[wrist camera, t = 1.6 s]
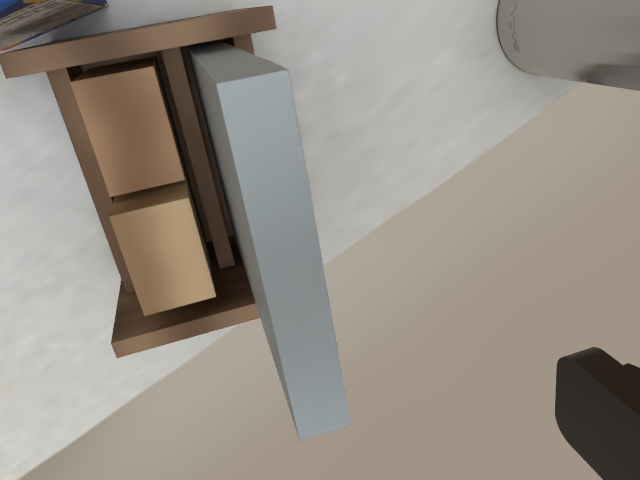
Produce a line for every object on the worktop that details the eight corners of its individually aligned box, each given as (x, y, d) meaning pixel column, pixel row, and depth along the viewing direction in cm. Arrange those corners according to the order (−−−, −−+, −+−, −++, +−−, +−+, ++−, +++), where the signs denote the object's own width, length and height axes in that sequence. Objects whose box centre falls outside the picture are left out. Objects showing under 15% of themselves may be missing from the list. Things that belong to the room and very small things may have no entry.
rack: (239, 9, 35) (272, 5, 24) (284, 227, 42) (325, 299, 31) (50, 42, 33) (-4, 54, 22) (129, 266, 40) (116, 357, 29)
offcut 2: (182, 153, 36) (188, 197, 27) (204, 232, 39) (216, 296, 30) (122, 166, 36) (109, 216, 27) (149, 246, 38) (144, 316, 29)
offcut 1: (155, 55, 34) (153, 66, 26) (180, 147, 36) (185, 179, 29) (90, 67, 33) (70, 82, 26) (121, 160, 35) (110, 197, 28)
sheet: (217, 39, 34) (288, 69, 15) (258, 222, 40) (350, 424, 20) (185, 44, 34) (216, 83, 14) (232, 229, 39) (300, 441, 20)
